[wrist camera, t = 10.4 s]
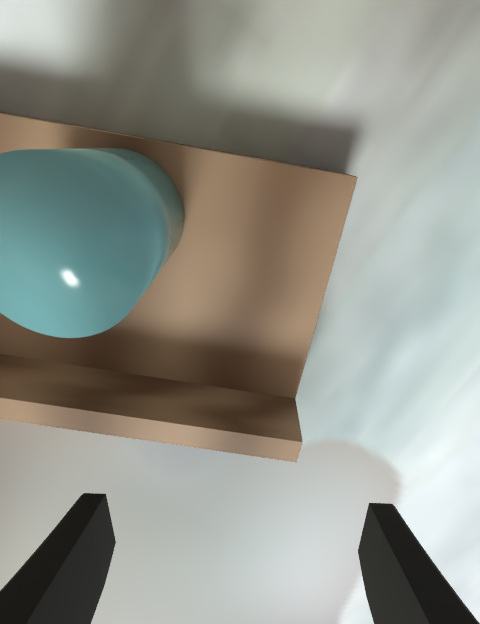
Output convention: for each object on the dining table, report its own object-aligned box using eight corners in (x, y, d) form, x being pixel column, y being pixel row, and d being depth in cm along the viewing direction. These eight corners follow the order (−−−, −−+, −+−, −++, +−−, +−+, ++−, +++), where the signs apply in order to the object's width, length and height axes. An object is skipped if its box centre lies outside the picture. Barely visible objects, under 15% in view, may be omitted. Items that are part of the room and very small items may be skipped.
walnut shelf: (345, 173, 16) (383, 184, 11) (286, 393, 21) (296, 462, 16) (-75, 98, 15) (-214, 78, 11) (-32, 344, 20) (-114, 402, 16)
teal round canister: (189, 158, 14) (148, 166, 9) (180, 279, 16) (143, 348, 11) (59, 138, 14) (-68, 134, 8) (66, 263, 16) (-30, 325, 10)
